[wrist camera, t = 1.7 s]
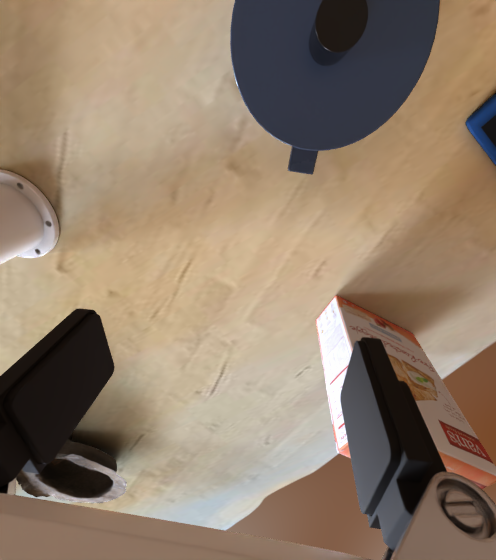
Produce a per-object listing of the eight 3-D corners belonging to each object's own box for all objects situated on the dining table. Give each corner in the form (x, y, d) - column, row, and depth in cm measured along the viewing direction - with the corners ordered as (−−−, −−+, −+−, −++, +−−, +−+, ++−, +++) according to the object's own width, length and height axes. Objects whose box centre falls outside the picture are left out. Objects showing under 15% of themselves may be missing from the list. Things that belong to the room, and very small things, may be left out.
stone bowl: (19, 418, 67) (-14, 459, 58) (122, 417, 65) (103, 458, 57) (59, 476, 78) (36, 517, 70) (147, 476, 77) (134, 518, 69)
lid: (224, 136, 26) (209, 141, 20) (244, -115, 18) (228, -212, 13) (387, 160, 25) (415, 171, 20) (473, -87, 18) (554, -175, 13)
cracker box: (414, 330, 43) (509, 481, 25) (387, 355, 46) (455, 506, 28) (336, 291, 41) (378, 424, 23) (313, 319, 44) (334, 457, 26)
